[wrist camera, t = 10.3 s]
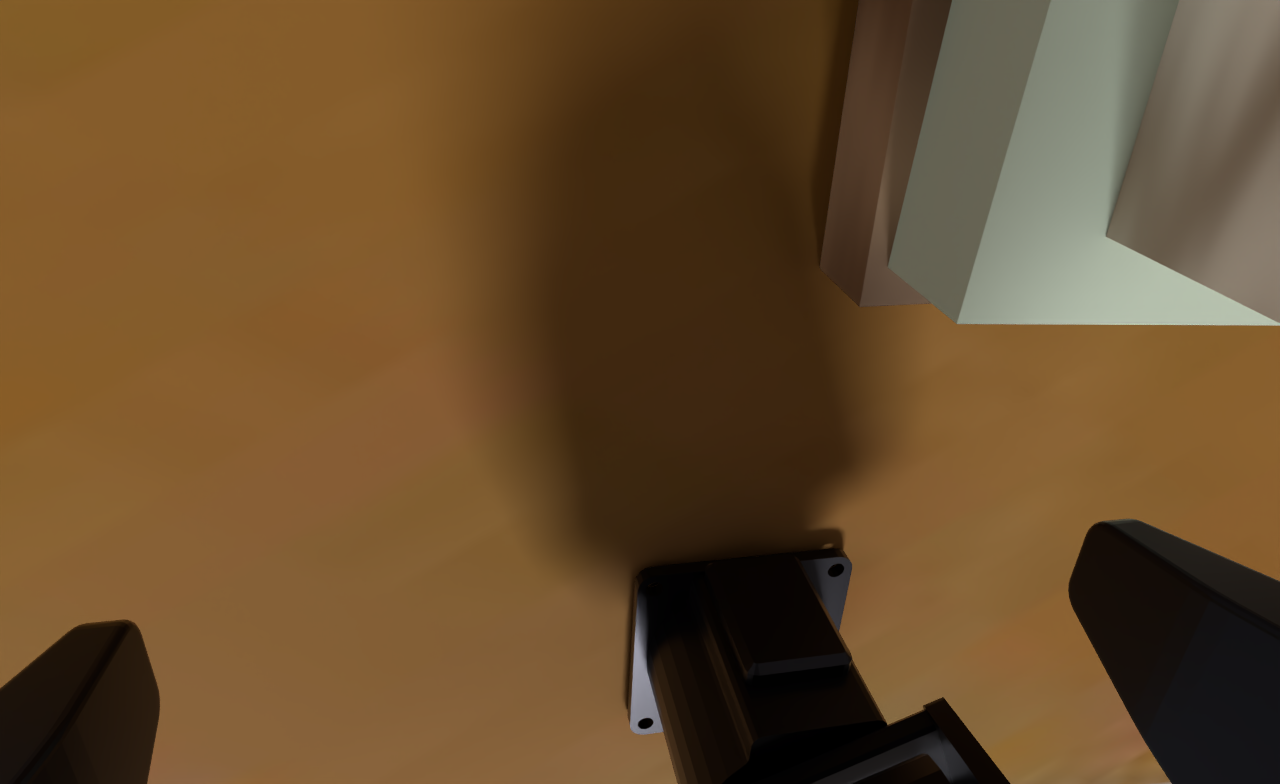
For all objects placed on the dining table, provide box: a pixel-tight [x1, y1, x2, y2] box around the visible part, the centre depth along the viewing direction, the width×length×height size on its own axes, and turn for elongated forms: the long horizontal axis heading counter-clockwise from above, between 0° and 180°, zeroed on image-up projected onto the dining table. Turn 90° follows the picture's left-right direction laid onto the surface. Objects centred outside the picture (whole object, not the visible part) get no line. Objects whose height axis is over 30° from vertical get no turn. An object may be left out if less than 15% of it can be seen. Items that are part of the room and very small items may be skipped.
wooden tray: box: [820, 0, 952, 307], centre depth 19 cm, size 12×12×3 cm
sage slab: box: [888, 0, 1280, 325], centre depth 17 cm, size 10×10×3 cm
